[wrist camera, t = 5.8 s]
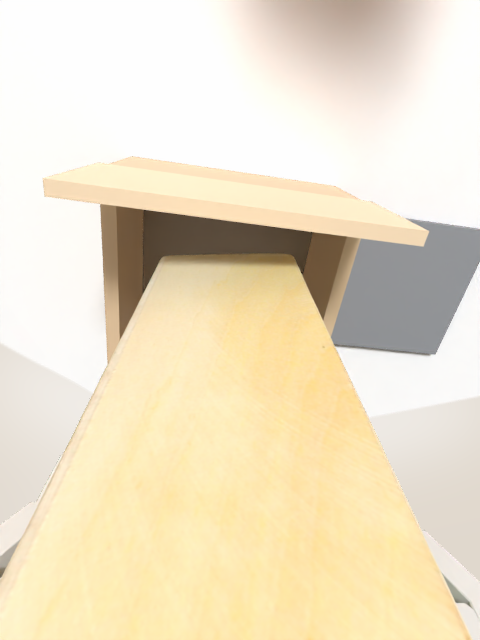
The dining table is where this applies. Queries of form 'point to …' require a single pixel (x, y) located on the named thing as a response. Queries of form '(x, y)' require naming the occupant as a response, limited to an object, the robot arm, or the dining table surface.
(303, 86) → the dining table surface
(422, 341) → the mat
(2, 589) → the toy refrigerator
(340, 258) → the carton
